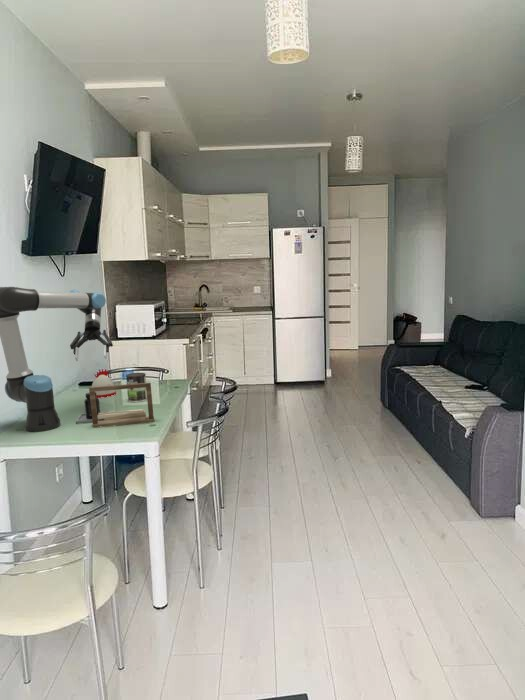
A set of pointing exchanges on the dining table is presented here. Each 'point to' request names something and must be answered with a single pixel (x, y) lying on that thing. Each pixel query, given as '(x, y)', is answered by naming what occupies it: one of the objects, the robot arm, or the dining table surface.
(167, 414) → the dining table surface
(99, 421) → the offcut stack
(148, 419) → the walnut rack
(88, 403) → the supplement bottle
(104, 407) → the dining table surface
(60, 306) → the robot arm
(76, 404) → the dining table surface
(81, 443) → the dining table surface
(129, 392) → the coffee can
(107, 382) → the kitchen timer
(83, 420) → the grey tray
